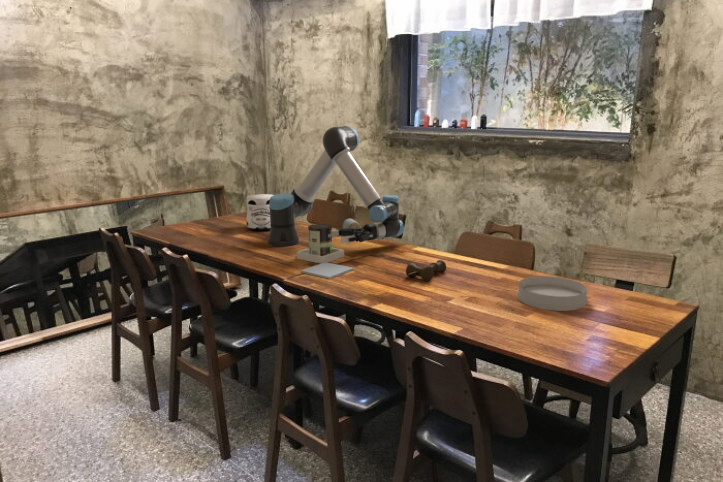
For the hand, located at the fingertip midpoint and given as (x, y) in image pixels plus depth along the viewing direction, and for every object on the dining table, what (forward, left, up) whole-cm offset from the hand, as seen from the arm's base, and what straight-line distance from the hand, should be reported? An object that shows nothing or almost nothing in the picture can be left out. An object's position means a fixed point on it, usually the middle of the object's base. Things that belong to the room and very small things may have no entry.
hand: (333, 237), depth 240 cm
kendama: (+49, -3, -9) cm, 50 cm away
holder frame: (-3, -6, -8) cm, 10 cm away
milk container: (-69, +21, -9) cm, 72 cm away
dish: (+96, -1, -9) cm, 97 cm away
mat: (+13, -20, -8) cm, 25 cm away
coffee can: (-3, -6, -9) cm, 11 cm away
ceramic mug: (-20, +40, -9) cm, 46 cm away
